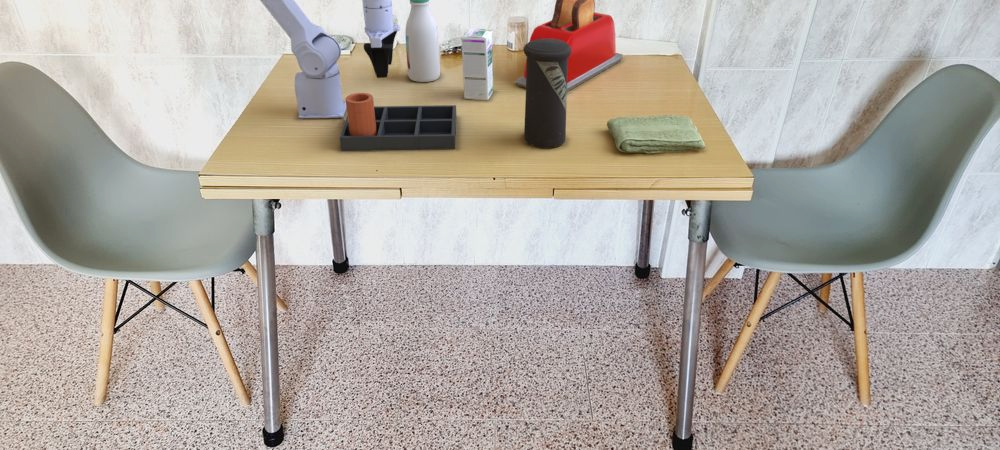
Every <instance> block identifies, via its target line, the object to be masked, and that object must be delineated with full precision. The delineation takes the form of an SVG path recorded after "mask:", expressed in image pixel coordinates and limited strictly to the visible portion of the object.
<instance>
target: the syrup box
mask: <svg viewBox="0 0 1000 450" xmlns="http://www.w3.org/2000/svg"><path fill="white" fill-rule="evenodd" d="M493 51H494V50H493V30H492V29H485V28H468V29H467V30H466V31H465V32H464V34H463V35H462V36H461V55H462V57H461V59H462V81H463V98H464V99H466V100H475V101H489V99H490V98H491V96H492V94H493V92H494V53H493Z"/></svg>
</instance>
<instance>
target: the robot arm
mask: <svg viewBox="0 0 1000 450" xmlns="http://www.w3.org/2000/svg"><path fill="white" fill-rule="evenodd" d="M259 1H260V2H261V3H262V5H263V7H265V9H266V10H267V11H268V12H269V14H270V15H271V16H272V17H273V19H274V20H275V21H276V23H278V25H279V26H280V27H281V29H282V30H283V31H284V32H285V33H286V35H287V36H288V37H289V39H290V49H291V53H292V54H293V56H295V59H296V60H297V65H298V67H299V69H300V70H301V71H299V72H296V73H295V76H294V92H295V98H296V104H297V111H298V119H342V118H344V116H345V113H346V112H347V108H346V101H344V97H343V88H342V80H341V72H340V67H339V65H338V61H339V59H340V58H341V55H342V48H341V45H340V43H339V42H338V40H337V39H336V38H335V37H333V36H331V35H330V34H328V33H327V32H326V31H325V30H324V28H323V27H322V26H319V25H318V24H315V23H313V22H311V20H310V19H309V17H308V16H307V15H306V14H305V13H304V10H303V9H301V7H300V6H299V4H298V3H297V2H296V1H295V0H259ZM361 1H362V12H363V20H364V33H365V35H367V37H368V38H369V41H370V42H364V44H363V50H364V52H365V53H366V55H367V56H368V58H369V61H370V62H371V65H372V67H373V71H374V74H375V76H376V78H377V79H387V78H388V75H389V66H391V65H392V64H393V63H392V62H393V55H394V43H395V40H396V39H395V38H396V36H397V34H398V32H399V31H400V30H401V26H400V25H399V24H394V13H393V3H392V0H361Z"/></svg>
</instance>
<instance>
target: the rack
mask: <svg viewBox="0 0 1000 450" xmlns="http://www.w3.org/2000/svg"><path fill="white" fill-rule="evenodd" d="M374 111H375V121H376V131H377V136H350V132H349V124H348V116H347V115H346V117H345V120H344V123H343V126H342V128H341V132H340V134H339V137H338V139H339V145H340V151H341V152H361V151H362V152H364V151H367V152H368V151H416V150H419V151H421V150H456V141H457V105H455V104H454V105H452V104H450V105H449V104H448V105H447V104H446V105H445V104H444V105H389V106H388V105H381V106H380V105H379V106H376V105H374Z"/></svg>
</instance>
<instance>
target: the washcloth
mask: <svg viewBox="0 0 1000 450" xmlns="http://www.w3.org/2000/svg"><path fill="white" fill-rule="evenodd" d="M606 127H607V129H608V131H609V132H610V135H611V137H612V138H614V143H615V146H616V149H617V150H618V151H619V152H622V153H625V154H629V153H631V154H632V153H634V154H636V153H640V154H641V153H646V154H648V155H649V154H659V153H660V154H661V153H679V152H689V151H698V150H699V151H701V150H702V149H705V148H706V143H705V142H704V140H703V138H702V136H701V134H700V132H699V131H698V128H697V126H696V125H694V123H693V121H692V118H691V117H689V116H683V115H673V114H670V115H669V114H668V115H667V114H665V115H652V116H651V115H649V116H633V115H632V116H617V117H614V118H610V119H609V120H607V122H606Z"/></svg>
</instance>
